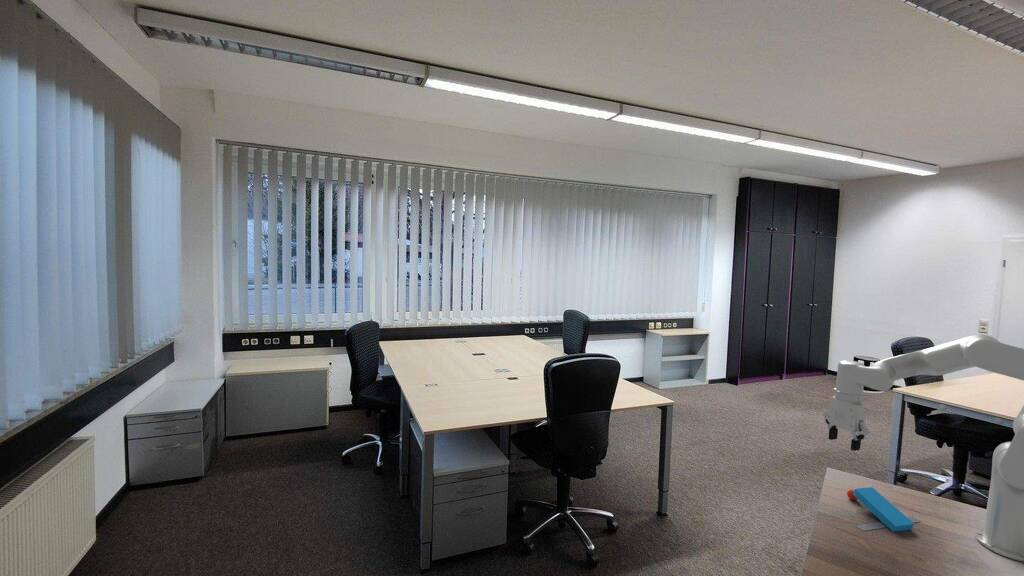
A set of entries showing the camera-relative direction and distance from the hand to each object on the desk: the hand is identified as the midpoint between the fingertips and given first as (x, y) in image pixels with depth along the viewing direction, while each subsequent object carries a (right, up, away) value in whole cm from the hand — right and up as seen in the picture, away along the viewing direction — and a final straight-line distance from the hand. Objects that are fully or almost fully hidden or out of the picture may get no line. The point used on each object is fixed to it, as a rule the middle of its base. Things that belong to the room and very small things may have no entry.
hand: (843, 444), depth 152 cm
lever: (+3, -19, -10) cm, 22 cm away
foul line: (+3, -20, -15) cm, 25 cm away
